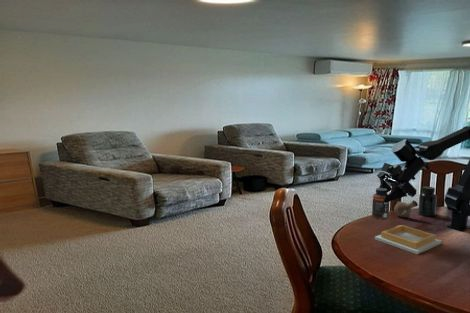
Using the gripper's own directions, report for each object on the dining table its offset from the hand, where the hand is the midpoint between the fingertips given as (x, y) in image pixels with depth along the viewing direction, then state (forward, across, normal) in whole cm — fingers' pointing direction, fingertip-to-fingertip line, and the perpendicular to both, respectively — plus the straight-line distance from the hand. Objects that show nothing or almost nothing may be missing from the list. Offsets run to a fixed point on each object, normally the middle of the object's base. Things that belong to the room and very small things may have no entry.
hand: (380, 199), depth 144 cm
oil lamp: (-5, -14, +24) cm, 28 cm away
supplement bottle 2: (-13, -17, +32) cm, 39 cm away
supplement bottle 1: (+5, 0, +5) cm, 7 cm away
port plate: (+5, +10, +13) cm, 17 cm away
